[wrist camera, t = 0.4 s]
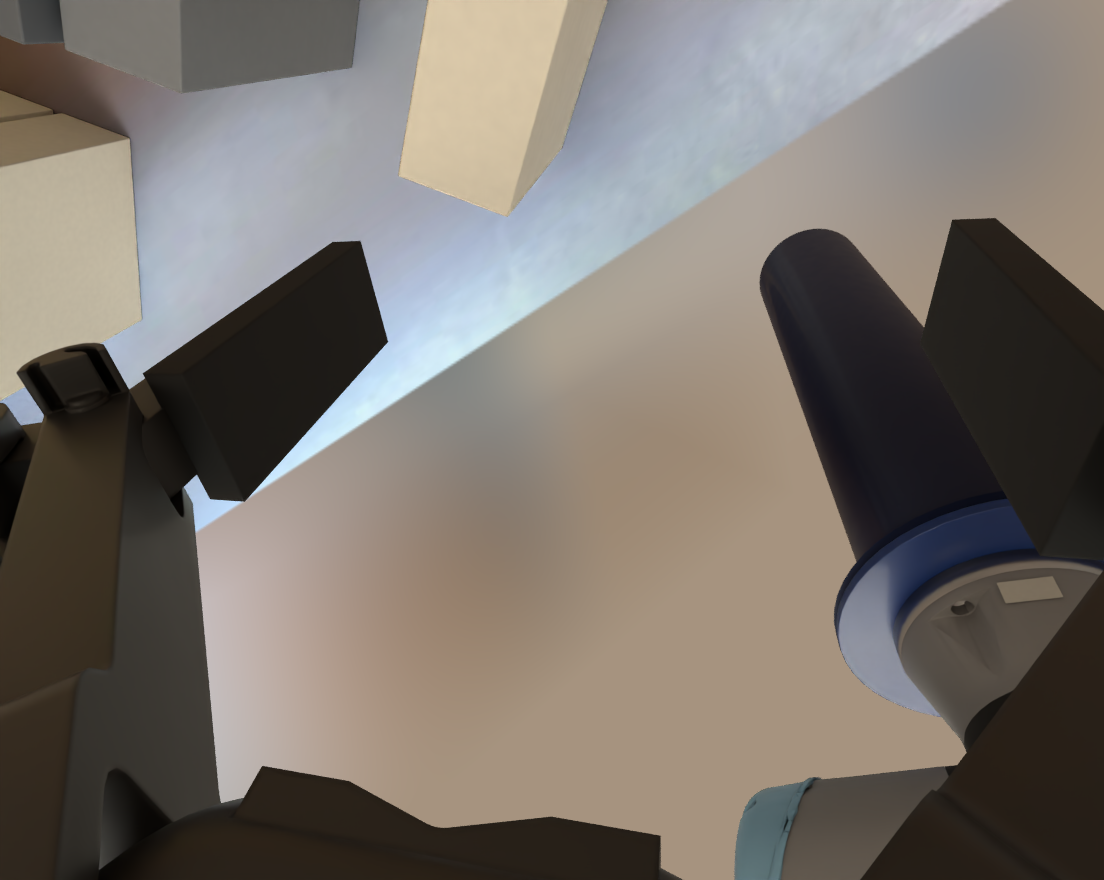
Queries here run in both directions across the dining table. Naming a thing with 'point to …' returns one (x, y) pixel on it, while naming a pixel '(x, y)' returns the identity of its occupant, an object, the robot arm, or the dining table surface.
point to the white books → (62, 235)
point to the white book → (495, 94)
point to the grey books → (193, 37)
